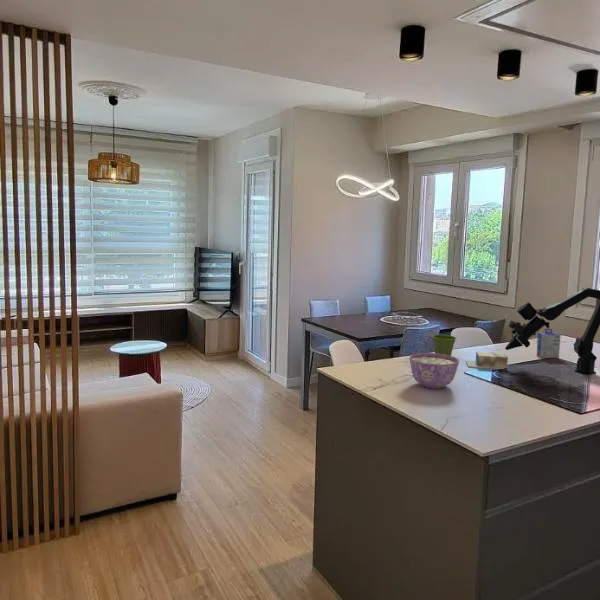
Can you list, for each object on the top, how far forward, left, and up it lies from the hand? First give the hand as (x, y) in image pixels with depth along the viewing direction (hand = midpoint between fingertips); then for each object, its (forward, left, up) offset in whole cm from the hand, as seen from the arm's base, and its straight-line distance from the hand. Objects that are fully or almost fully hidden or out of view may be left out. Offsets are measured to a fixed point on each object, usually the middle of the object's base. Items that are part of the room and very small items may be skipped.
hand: (505, 349), depth 247 cm
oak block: (0, 0, -5) cm, 5 cm away
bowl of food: (-10, +53, -9) cm, 54 cm away
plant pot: (+24, +17, -9) cm, 30 cm away
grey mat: (+6, +7, -9) cm, 13 cm away
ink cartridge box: (+6, -37, -9) cm, 39 cm away
